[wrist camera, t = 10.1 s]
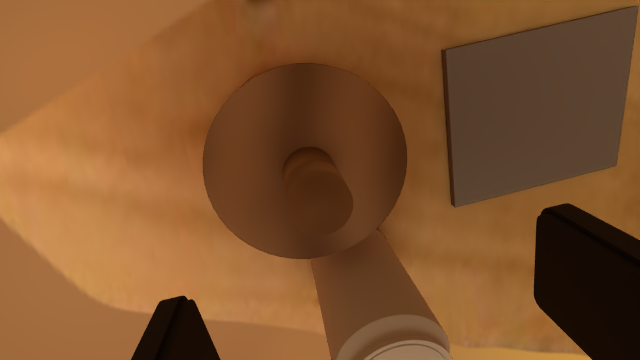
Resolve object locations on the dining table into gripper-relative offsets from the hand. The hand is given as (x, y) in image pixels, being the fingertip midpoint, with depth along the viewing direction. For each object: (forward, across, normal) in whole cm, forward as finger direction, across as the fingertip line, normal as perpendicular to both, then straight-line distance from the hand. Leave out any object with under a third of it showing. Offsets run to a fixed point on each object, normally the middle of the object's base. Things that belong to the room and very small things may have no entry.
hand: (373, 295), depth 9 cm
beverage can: (+16, -1, +10) cm, 19 cm away
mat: (+17, -17, +2) cm, 24 cm away
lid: (+11, +1, 0) cm, 11 cm away
